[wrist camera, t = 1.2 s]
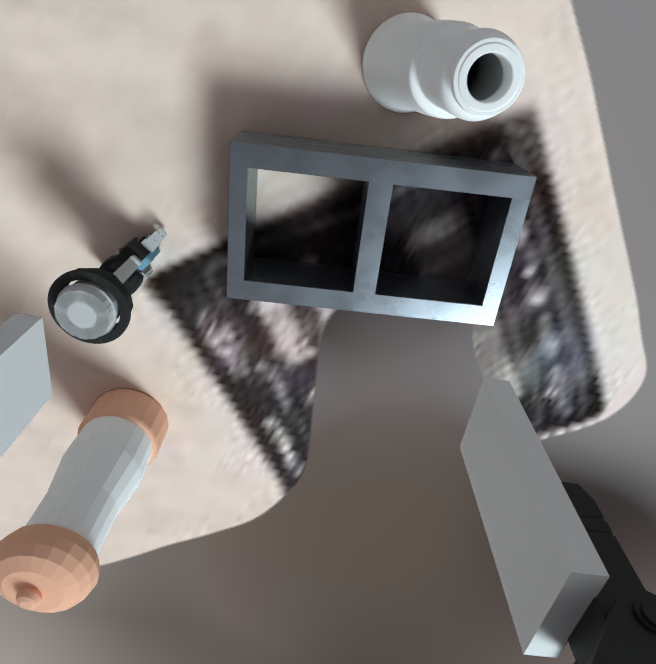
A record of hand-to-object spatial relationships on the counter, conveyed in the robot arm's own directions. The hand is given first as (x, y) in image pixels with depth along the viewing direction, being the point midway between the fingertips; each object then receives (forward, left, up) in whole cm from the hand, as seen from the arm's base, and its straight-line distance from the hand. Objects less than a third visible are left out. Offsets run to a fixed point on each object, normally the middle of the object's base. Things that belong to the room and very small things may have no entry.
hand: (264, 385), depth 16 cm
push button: (+7, -13, -27) cm, 31 cm away
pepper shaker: (+24, -15, -27) cm, 39 cm away
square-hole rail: (+2, +5, -27) cm, 27 cm away
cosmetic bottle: (-9, +6, -27) cm, 29 cm away
